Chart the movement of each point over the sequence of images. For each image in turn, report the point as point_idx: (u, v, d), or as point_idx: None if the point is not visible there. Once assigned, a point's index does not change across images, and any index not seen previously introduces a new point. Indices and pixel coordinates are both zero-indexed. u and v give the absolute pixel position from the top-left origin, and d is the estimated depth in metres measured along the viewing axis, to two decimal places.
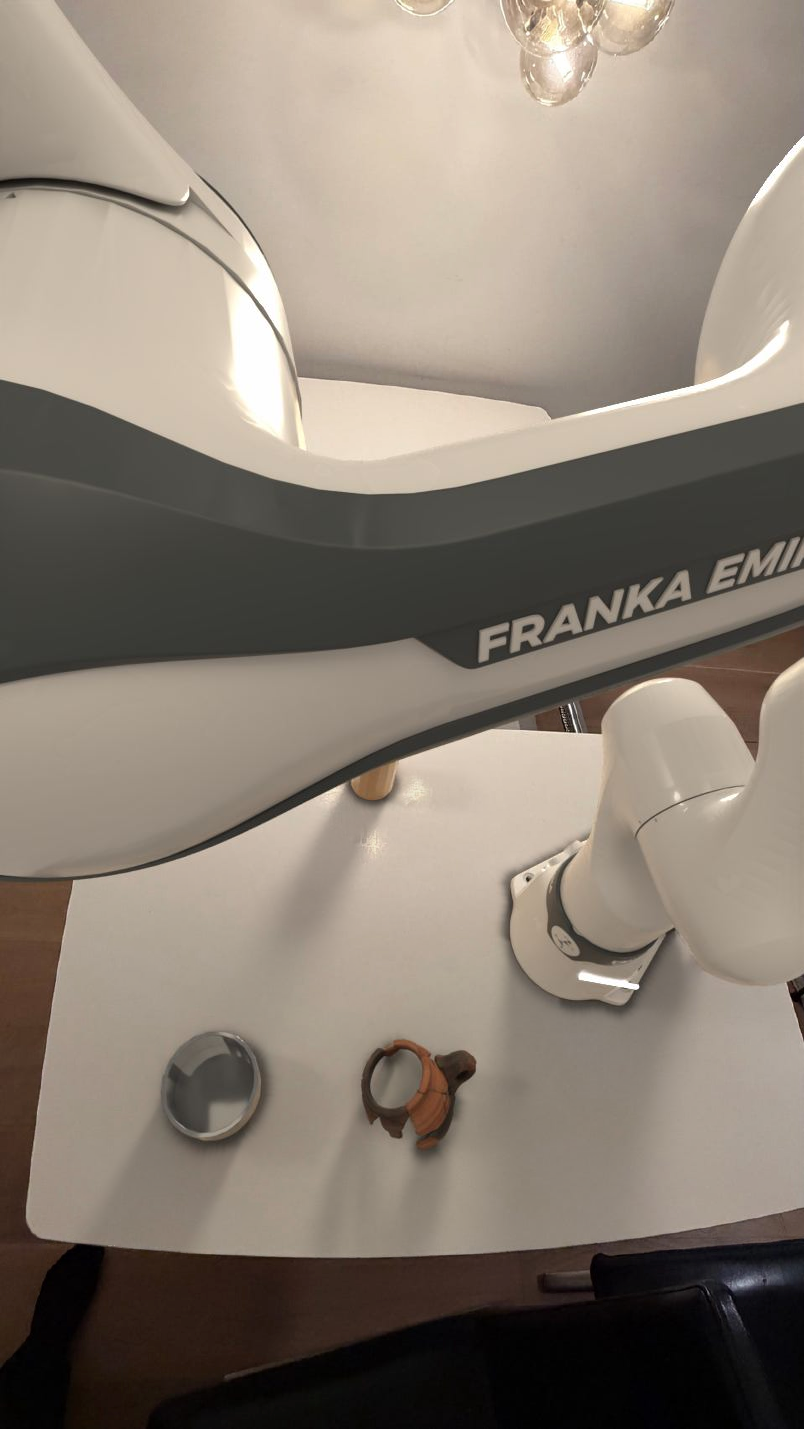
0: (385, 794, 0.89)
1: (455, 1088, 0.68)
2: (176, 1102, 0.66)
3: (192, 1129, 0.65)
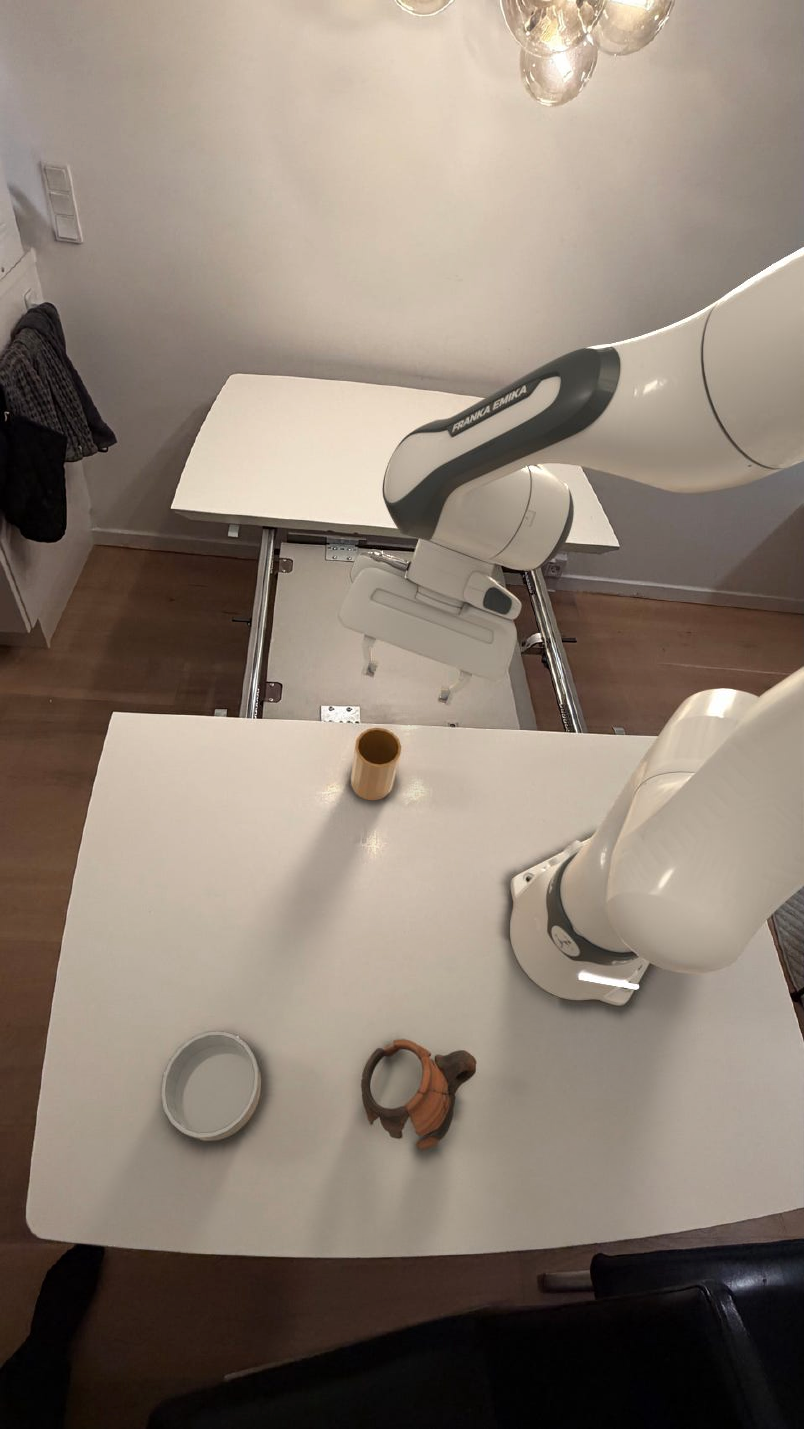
0: (385, 794, 0.89)
1: (455, 1088, 0.68)
2: (176, 1102, 0.66)
3: (192, 1129, 0.65)
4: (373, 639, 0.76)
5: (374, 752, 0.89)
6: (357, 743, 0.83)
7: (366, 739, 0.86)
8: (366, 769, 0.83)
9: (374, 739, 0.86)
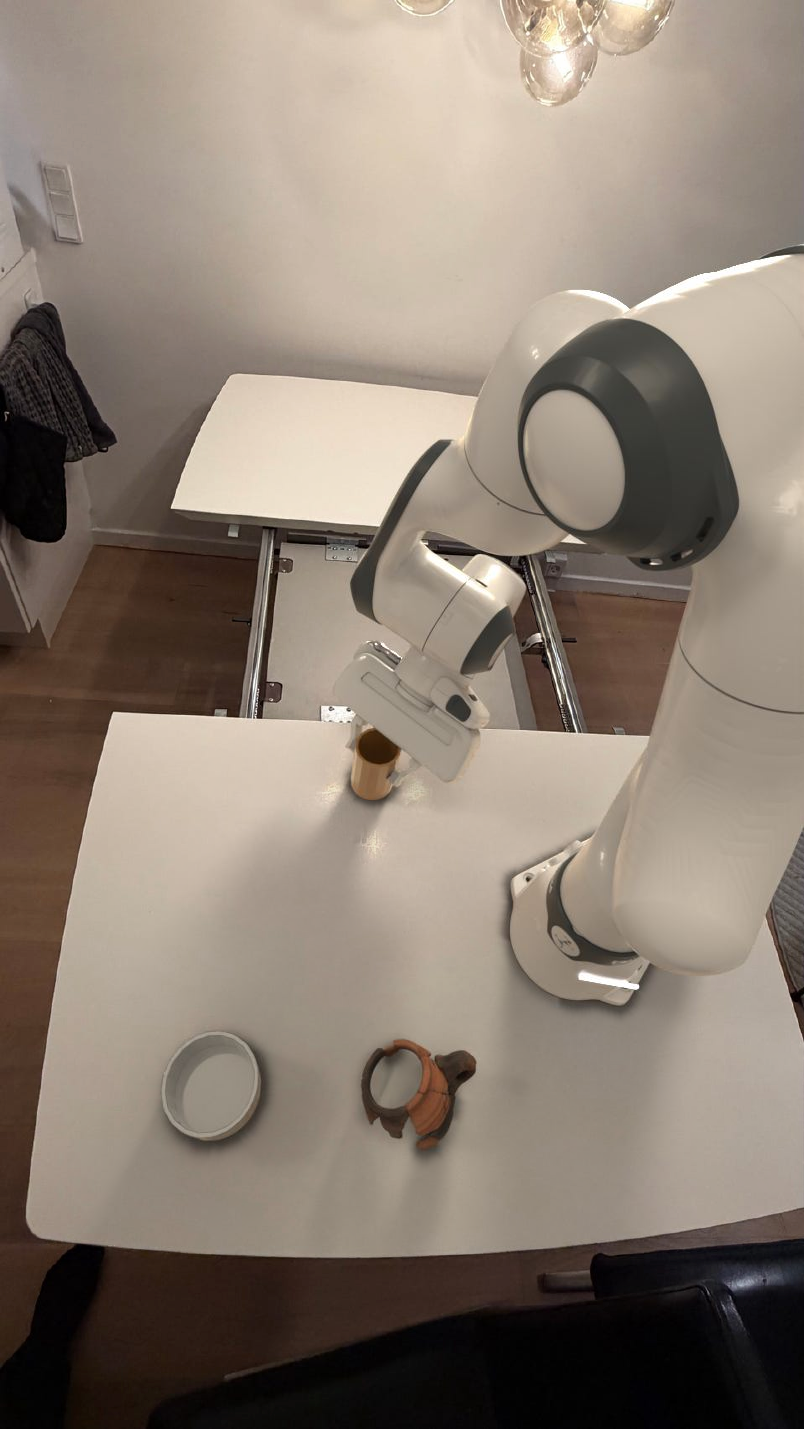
0: (385, 794, 0.89)
1: (455, 1088, 0.68)
2: (176, 1102, 0.66)
3: (192, 1129, 0.65)
4: (362, 719, 0.85)
5: (374, 752, 0.89)
6: (357, 743, 0.83)
7: (366, 739, 0.86)
8: (366, 769, 0.83)
9: (374, 739, 0.86)
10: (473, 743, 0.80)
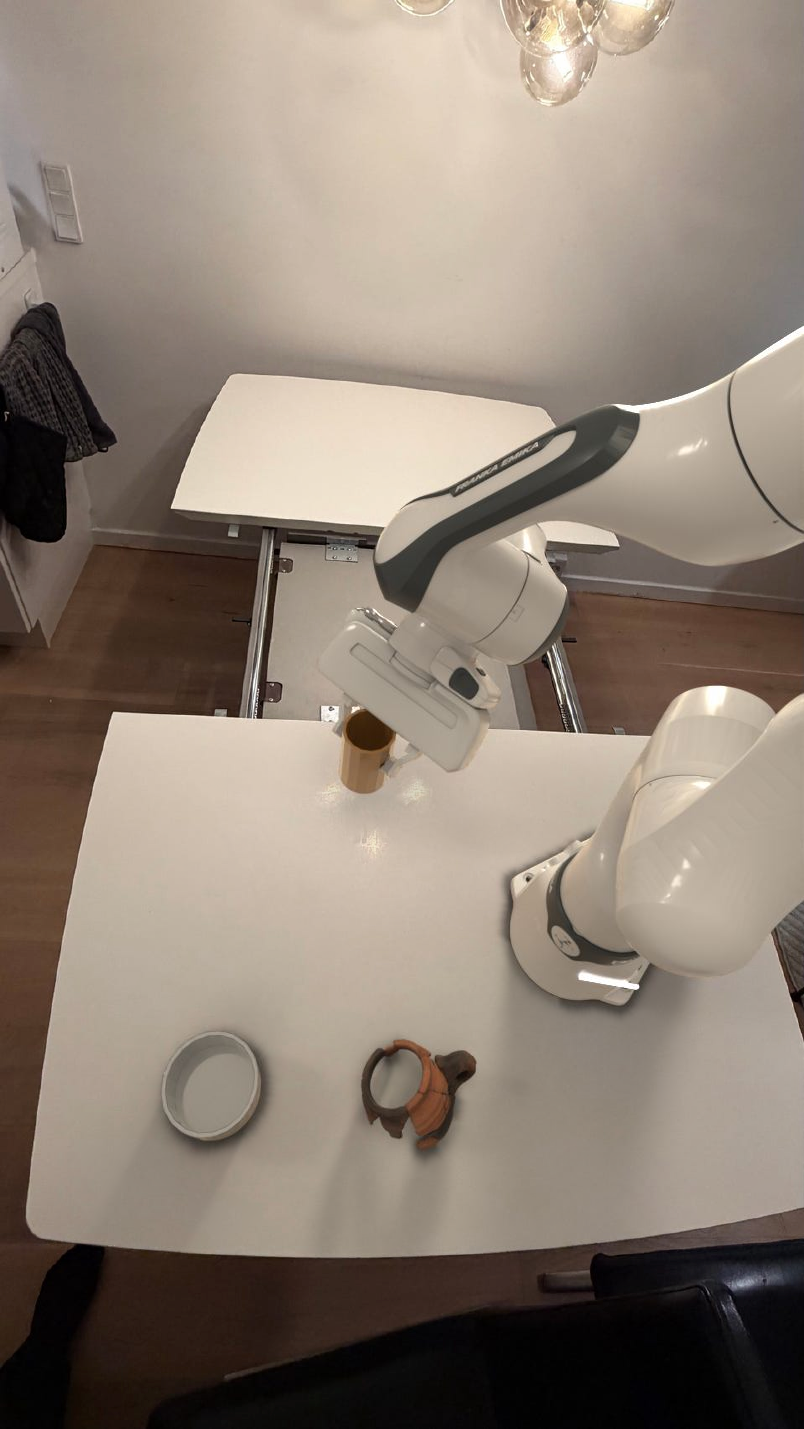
0: (378, 787, 0.77)
1: (455, 1088, 0.68)
2: (176, 1102, 0.66)
3: (192, 1129, 0.65)
4: (351, 699, 0.73)
5: (366, 738, 0.77)
6: (345, 726, 0.71)
7: (356, 722, 0.73)
8: (355, 756, 0.70)
9: (365, 722, 0.74)
10: (481, 725, 0.68)
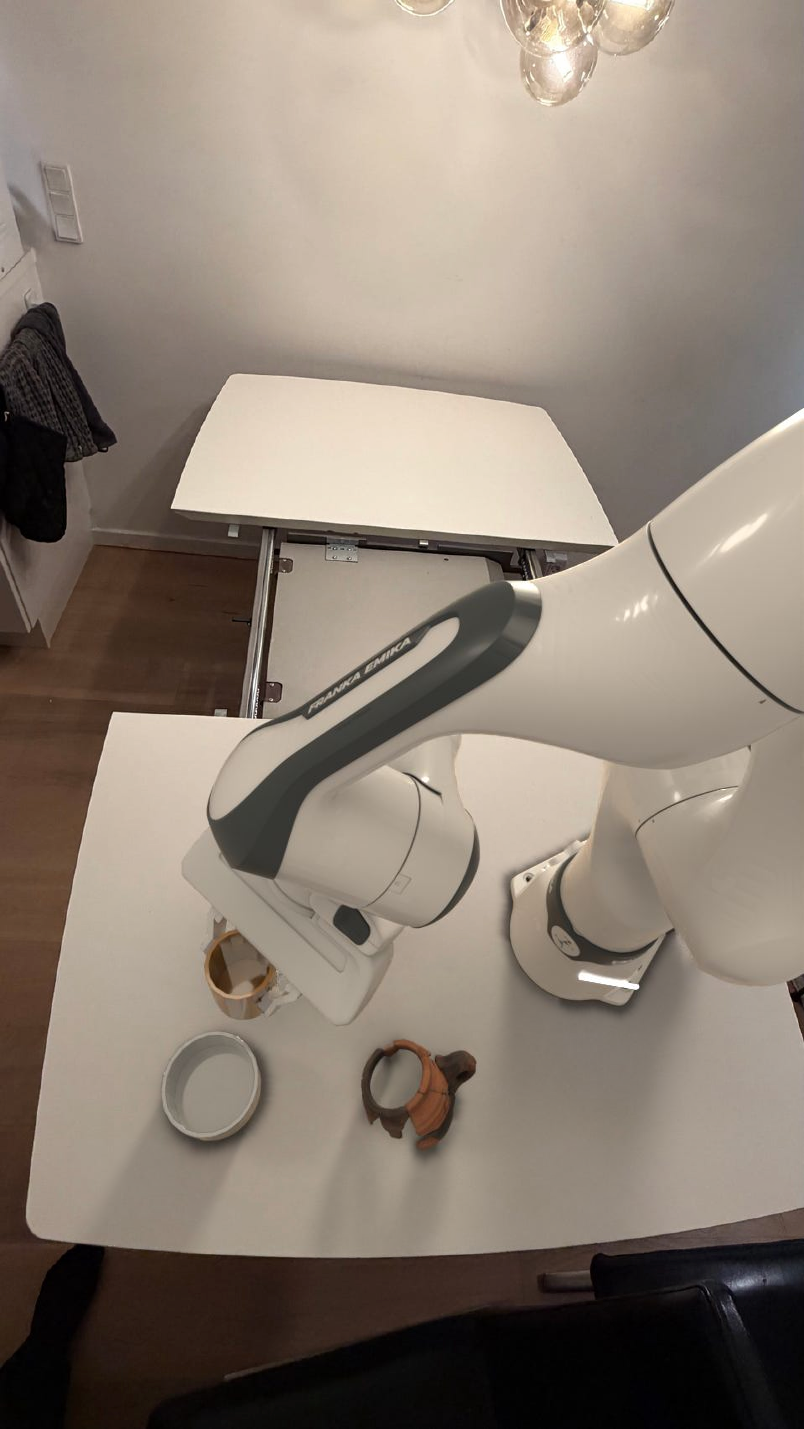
0: None
1: (455, 1088, 0.68)
2: (176, 1102, 0.66)
3: (192, 1129, 0.65)
4: None
5: (247, 950, 0.61)
6: (208, 957, 0.55)
7: (228, 942, 0.58)
8: (220, 998, 0.55)
9: (241, 940, 0.59)
10: (377, 971, 0.52)
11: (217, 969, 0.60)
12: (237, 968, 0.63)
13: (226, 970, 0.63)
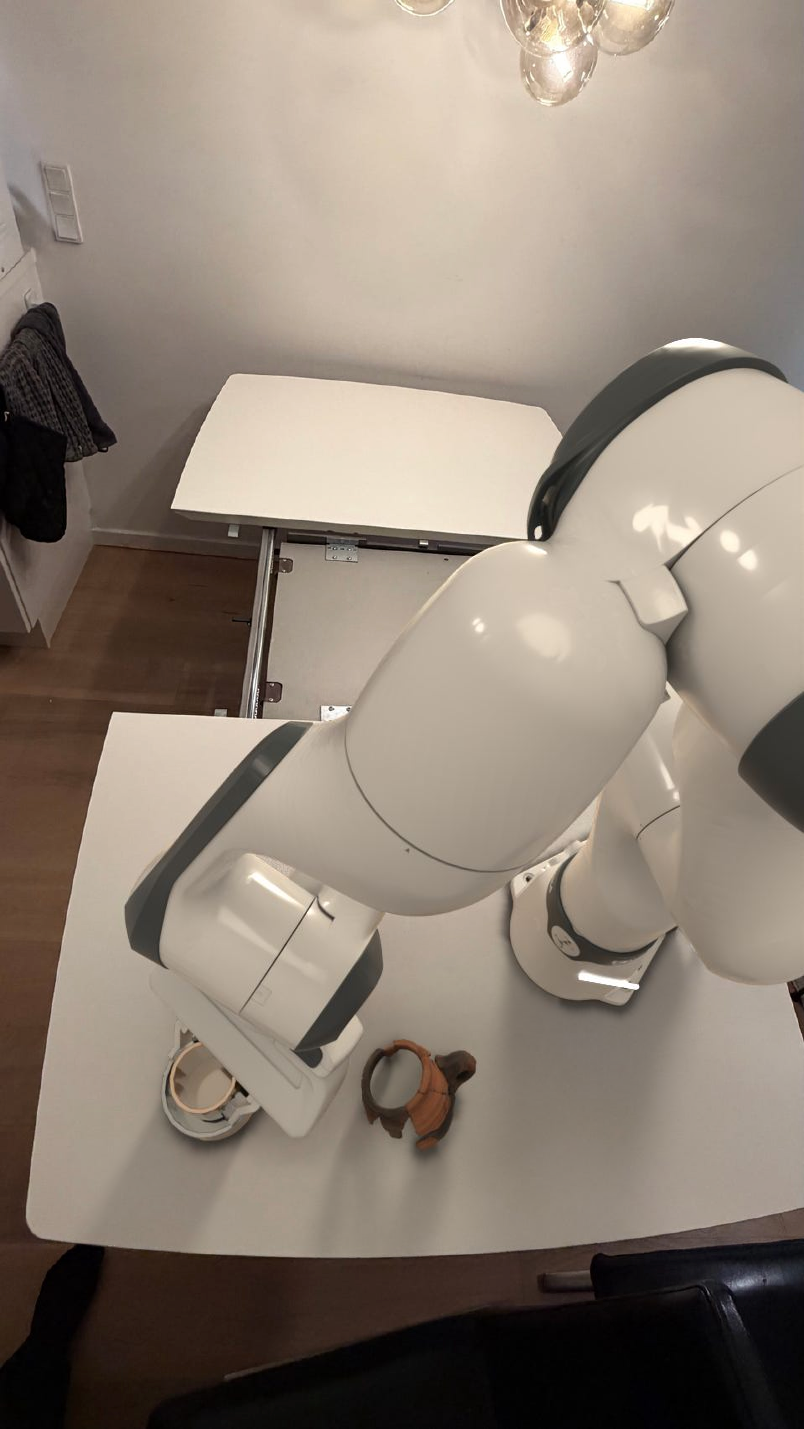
0: None
1: (455, 1088, 0.68)
2: None
3: (192, 1129, 0.65)
4: None
5: None
6: (173, 1071, 0.59)
7: (193, 1052, 0.61)
8: None
9: None
10: (330, 1089, 0.56)
11: (185, 1074, 0.63)
12: (205, 1067, 0.67)
13: (195, 1070, 0.66)
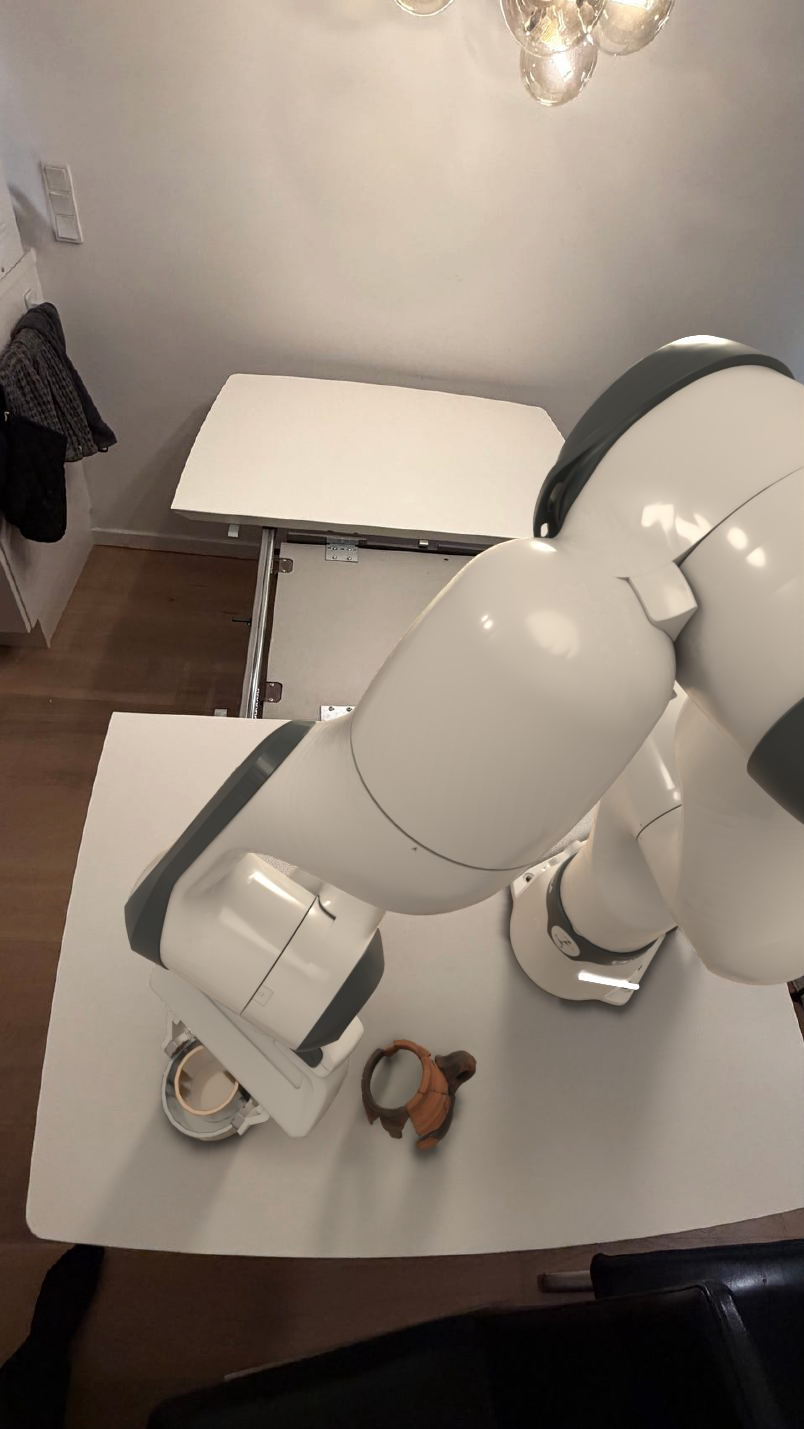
0: (231, 1113, 0.66)
1: (455, 1088, 0.68)
2: (176, 1102, 0.66)
3: (192, 1129, 0.65)
4: None
5: None
6: (178, 1074, 0.60)
7: (197, 1055, 0.63)
8: None
9: None
10: (331, 1089, 0.56)
11: (189, 1076, 0.65)
12: (209, 1070, 0.68)
13: (199, 1072, 0.68)
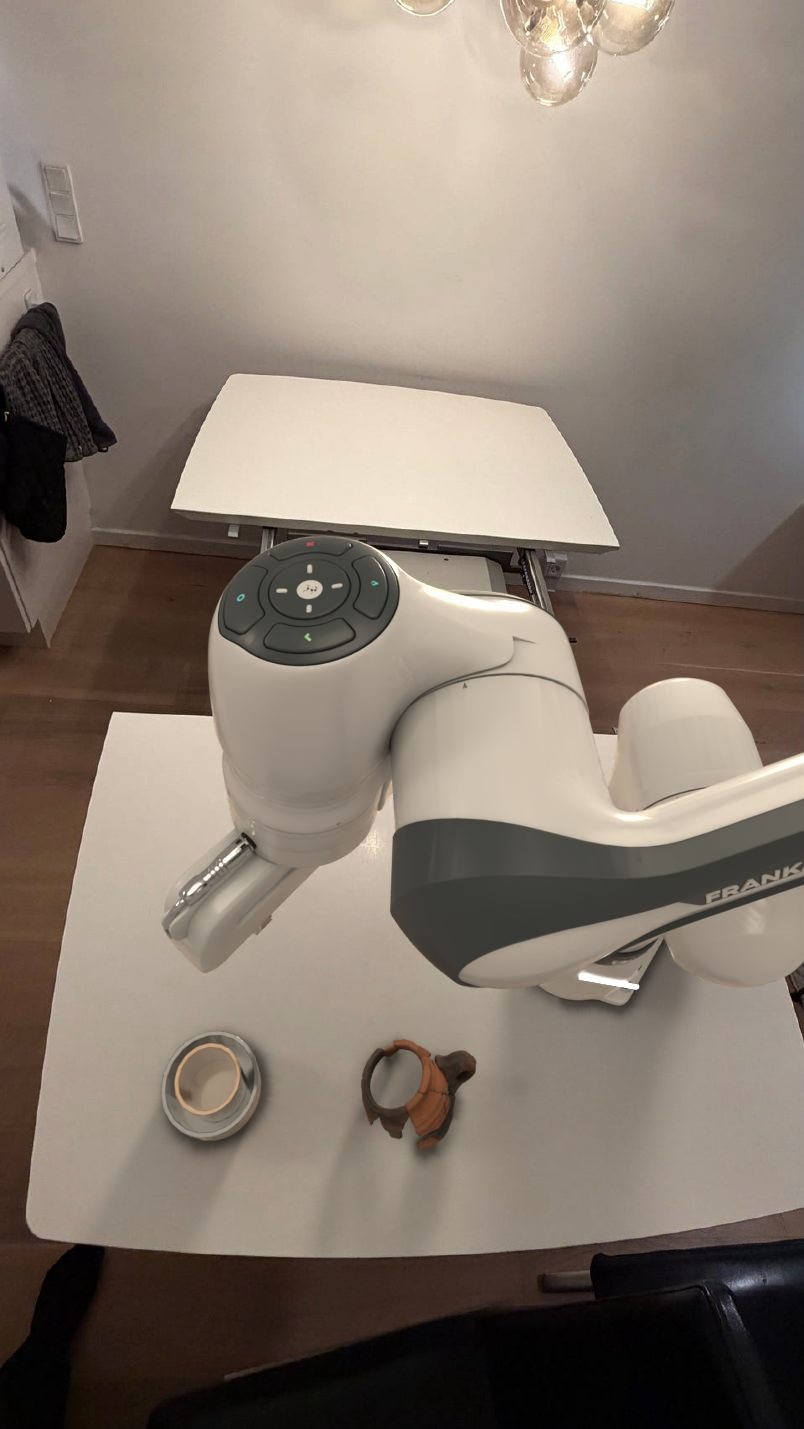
0: (231, 1113, 0.66)
1: (455, 1088, 0.68)
2: (176, 1102, 0.66)
3: (192, 1129, 0.65)
4: None
5: (217, 1056, 0.66)
6: (178, 1074, 0.60)
7: (197, 1055, 0.63)
8: None
9: (210, 1051, 0.63)
10: None
11: (189, 1076, 0.65)
12: (209, 1070, 0.68)
13: (199, 1072, 0.68)
